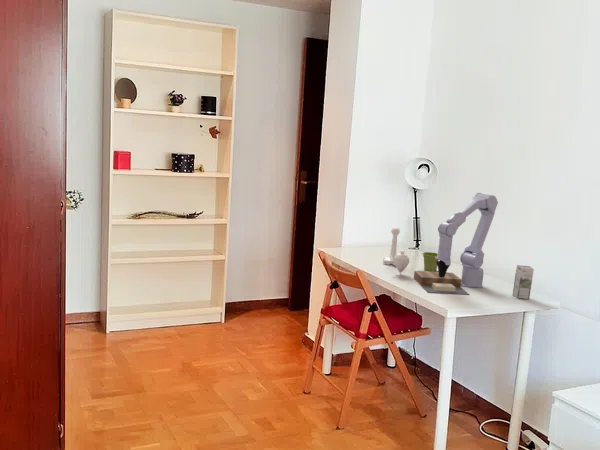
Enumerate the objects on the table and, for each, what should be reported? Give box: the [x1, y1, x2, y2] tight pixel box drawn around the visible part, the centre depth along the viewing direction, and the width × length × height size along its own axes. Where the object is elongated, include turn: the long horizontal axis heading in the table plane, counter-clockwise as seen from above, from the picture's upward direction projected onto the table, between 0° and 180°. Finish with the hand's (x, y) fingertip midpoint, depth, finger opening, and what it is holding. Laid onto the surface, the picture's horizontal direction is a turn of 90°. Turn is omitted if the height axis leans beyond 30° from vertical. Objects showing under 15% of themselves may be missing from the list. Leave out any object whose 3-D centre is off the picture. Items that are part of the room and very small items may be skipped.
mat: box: [420, 285, 470, 296], centre depth 285 cm, size 19×12×1 cm, turn 95°
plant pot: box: [422, 251, 440, 272], centre depth 323 cm, size 9×9×9 cm
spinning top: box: [394, 250, 410, 275], centre depth 308 cm, size 8×8×12 cm
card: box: [432, 283, 456, 292], centre depth 285 cm, size 9×6×2 cm, turn 95°
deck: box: [413, 270, 462, 288], centre depth 297 cm, size 19×13×4 cm
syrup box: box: [512, 264, 535, 300], centre depth 281 cm, size 6×6×14 cm
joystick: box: [382, 226, 401, 267], centre depth 330 cm, size 11×8×20 cm
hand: (441, 277), depth 289 cm, fingers closed
